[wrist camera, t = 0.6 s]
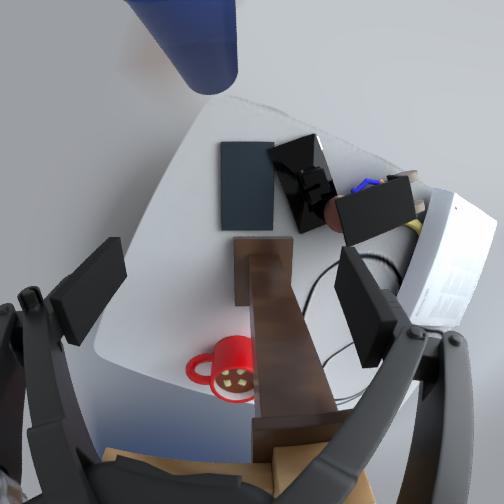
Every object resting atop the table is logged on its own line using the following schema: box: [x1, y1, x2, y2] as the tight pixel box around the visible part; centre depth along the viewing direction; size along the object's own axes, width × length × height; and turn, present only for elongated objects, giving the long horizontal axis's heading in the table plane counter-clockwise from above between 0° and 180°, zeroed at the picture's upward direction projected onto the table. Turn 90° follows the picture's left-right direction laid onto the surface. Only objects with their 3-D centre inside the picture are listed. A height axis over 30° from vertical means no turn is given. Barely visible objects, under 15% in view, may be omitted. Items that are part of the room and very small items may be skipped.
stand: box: [234, 237, 354, 464], centre depth 26 cm, size 8×10×31 cm
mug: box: [185, 336, 254, 403], centre depth 42 cm, size 8×12×8 cm, turn 91°
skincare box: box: [396, 188, 497, 327], centre depth 38 cm, size 21×6×16 cm
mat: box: [221, 142, 274, 230], centre depth 37 cm, size 12×7×1 cm, turn 0°
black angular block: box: [268, 134, 338, 234], centre depth 35 cm, size 12×7×5 cm, turn 22°
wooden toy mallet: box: [102, 442, 376, 504], centre depth 9 cm, size 13×5×4 cm, turn 90°
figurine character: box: [324, 170, 425, 247], centre depth 35 cm, size 7×8×15 cm
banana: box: [404, 219, 423, 236], centre depth 39 cm, size 8×2×4 cm
